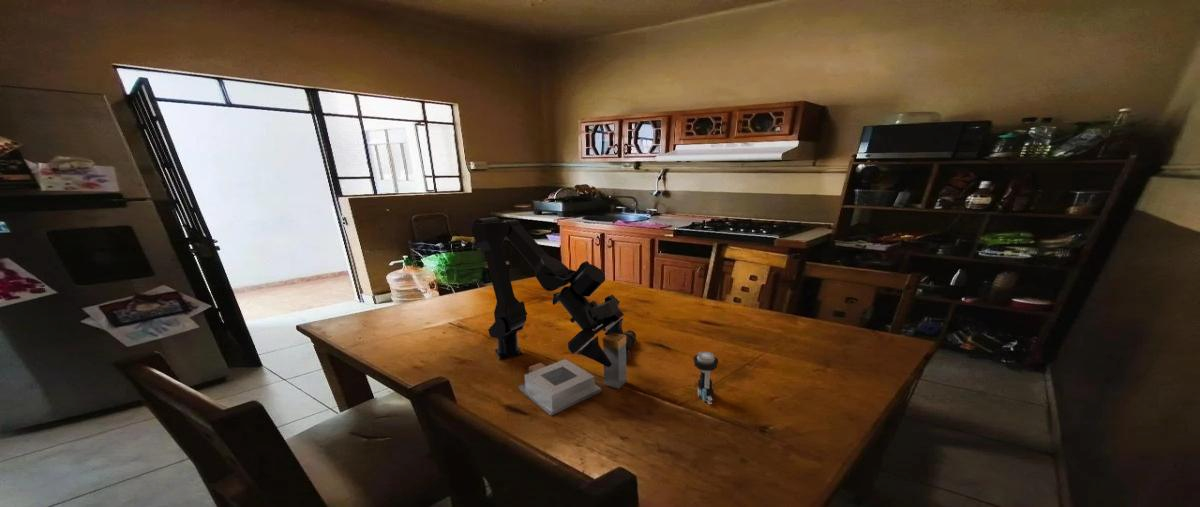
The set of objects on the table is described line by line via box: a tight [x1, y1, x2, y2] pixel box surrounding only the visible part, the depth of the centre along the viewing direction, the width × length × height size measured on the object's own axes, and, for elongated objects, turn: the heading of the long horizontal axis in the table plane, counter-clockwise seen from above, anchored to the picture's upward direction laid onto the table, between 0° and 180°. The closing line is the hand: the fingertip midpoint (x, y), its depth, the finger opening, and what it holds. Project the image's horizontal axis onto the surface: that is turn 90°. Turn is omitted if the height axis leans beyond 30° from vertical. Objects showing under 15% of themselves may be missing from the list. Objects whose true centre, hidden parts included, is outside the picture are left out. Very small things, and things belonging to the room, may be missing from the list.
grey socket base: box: [518, 358, 602, 417], centre depth 92 cm, size 18×14×4 cm
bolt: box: [623, 329, 637, 363], centre depth 110 cm, size 6×5×15 cm
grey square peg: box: [602, 332, 627, 389], centre depth 92 cm, size 4×4×12 cm
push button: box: [692, 351, 719, 405], centre depth 85 cm, size 7×5×10 cm
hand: (619, 357), depth 91 cm, fingers open, 9 cm apart
